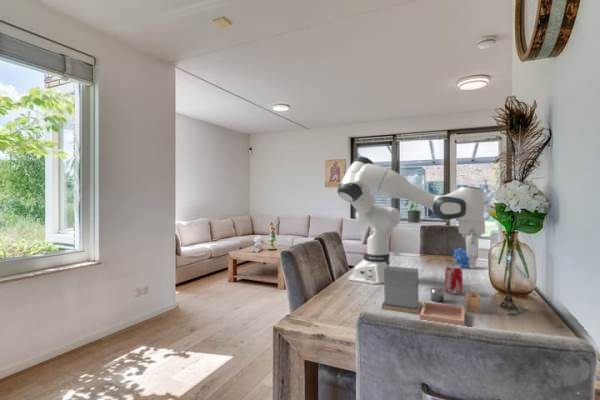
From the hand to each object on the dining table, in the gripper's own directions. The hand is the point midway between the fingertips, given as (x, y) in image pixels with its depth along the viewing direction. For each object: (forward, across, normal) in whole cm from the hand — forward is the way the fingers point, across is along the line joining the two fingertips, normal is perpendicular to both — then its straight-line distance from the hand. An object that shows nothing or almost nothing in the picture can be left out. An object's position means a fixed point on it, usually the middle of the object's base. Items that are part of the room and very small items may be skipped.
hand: (472, 264), depth 119 cm
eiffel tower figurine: (+18, +9, -13) cm, 24 cm away
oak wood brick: (+18, 0, 0) cm, 18 cm away
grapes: (+18, +74, +4) cm, 77 cm away
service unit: (+18, -7, +25) cm, 31 cm away
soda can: (+18, +21, +7) cm, 29 cm away
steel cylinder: (+18, +7, +13) cm, 23 cm away
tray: (+18, -12, +10) cm, 23 cm away
